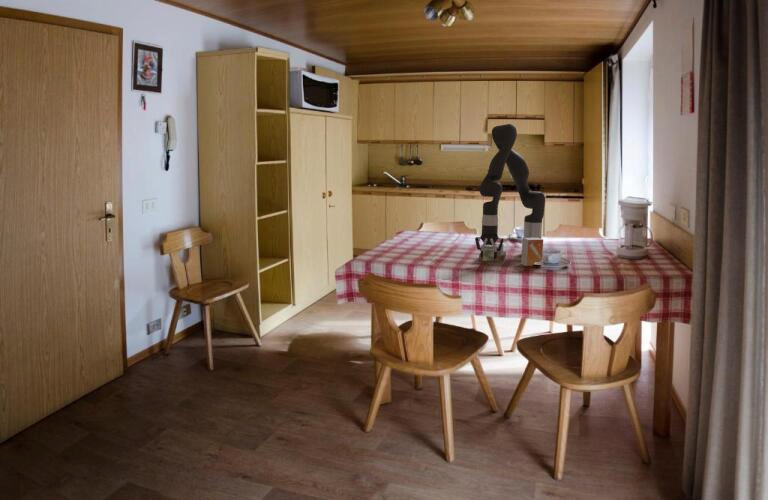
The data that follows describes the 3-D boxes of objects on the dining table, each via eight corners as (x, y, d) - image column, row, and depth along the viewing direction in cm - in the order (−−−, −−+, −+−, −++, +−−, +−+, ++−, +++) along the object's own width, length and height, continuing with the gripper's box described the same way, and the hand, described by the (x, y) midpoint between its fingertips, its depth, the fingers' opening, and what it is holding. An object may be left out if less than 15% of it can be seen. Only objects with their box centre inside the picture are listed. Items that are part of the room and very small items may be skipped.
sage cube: (494, 259, 294) (495, 248, 293) (493, 261, 289) (493, 250, 288) (484, 258, 295) (484, 248, 294) (482, 260, 290) (483, 250, 289)
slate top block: (503, 251, 309) (503, 244, 308) (500, 255, 300) (501, 247, 299) (483, 250, 312) (483, 242, 311) (480, 253, 303) (480, 246, 302)
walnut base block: (505, 259, 310) (506, 251, 310) (503, 263, 299) (503, 255, 298) (482, 257, 314) (482, 250, 313) (478, 262, 302) (479, 254, 302)
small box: (526, 266, 290) (528, 239, 288) (520, 264, 296) (522, 237, 294) (542, 265, 292) (543, 239, 290) (536, 263, 298) (537, 237, 296)
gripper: (505, 223, 290) (504, 258, 293) (476, 222, 294) (475, 256, 297) (504, 225, 283) (503, 261, 286) (473, 224, 287) (472, 259, 290)
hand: (488, 258), depth 292 cm, fingers closed on sage cube, 5 cm apart
